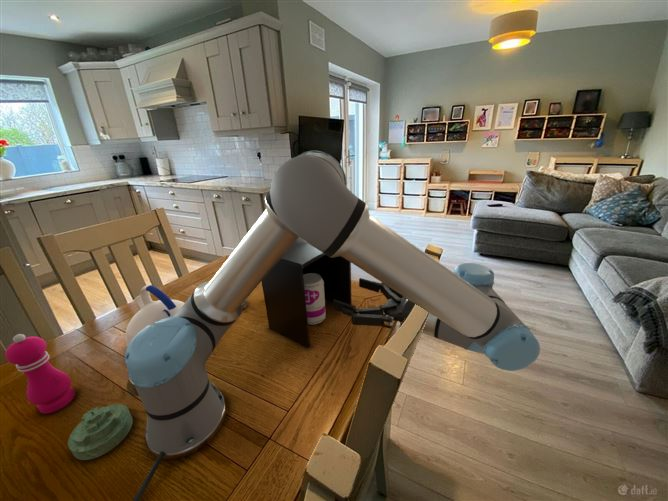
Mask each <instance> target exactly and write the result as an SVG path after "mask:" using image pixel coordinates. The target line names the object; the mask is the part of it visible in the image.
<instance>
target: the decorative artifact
mask: <svg viewBox="0 0 668 501" xmlns="http://www.w3.org/2000/svg"><path fill="white" fill-rule="evenodd" d="M133 422H134V420H133V416H132V414H131V412H130V410H129V408H128V406H126V405H124V404H122V403H117V404H115V403H114V404H110V405H106V406H103V407H100V406H99V405H97V406H96V407H94V408H92V409H90V410H89V411H87V412H85V413H84V414H83V415H82V418H81V421H80V422H79V423H78V424H77V425H76V426H75V427H74V428H73V430H72V431H71V433H70V435H69V437H68V439H67V446H68V449H69V450H70V452H71V453H72V455H73V456H74V458H76V459H77V460H80V461H90V460H94V459H97V458H99V457H102V456H103V455H105V454H107V453H109V452H110V451H112V450H113V449H115V448H116V447H117V446H118V445H119V444H120V443H121V442H122V441H123V440H124V439H125V438H126V437H127V435H128V434H129V432H130V431H131V429H132V426H133Z"/></svg>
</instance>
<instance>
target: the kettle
mask: <svg viewBox="0 0 668 501" xmlns="http://www.w3.org/2000/svg"><path fill="white" fill-rule="evenodd" d="M139 292H140V294H139V295H137V296H136V297H135V298H134V300H133V301H134V302H135V303H136V304H137V306H138V307H139V308H140V309H139V310H138V311H136V313H135V314H134V315H133V316H132V317H131V319H130V321H129V323H128V324H127V326H126V328H125V329H126V330H125V335H124V336H125V337H124V339H125V344H126V348H127V347H128V345H129V343H130V342H131V340H132V339H133V338H134V337H135V336H136V335H137V334H138V333H139V332H140V331H141V330H143V329H144V328H145V327H147V326H148V325H154V324H155V322H156V321H159V320H161V319H165V318H169V317H173V316H174V315H175V314H176V312H177V311H178V310H179V309H180V308H181V307H182V306H183V305H184V304H185V302H184V301H181V300H178V299H173V298H170V297H169V296H168V295H167V294H166V293H165V292H164V291H162V290H161V289H160V288H158V287H156V286H154V285H153V284H146V285H144V286H143V287H142V288H141V289H140V291H139ZM151 295H153V296H154V297H156V298H157V299H158V300H153V299H152V297H151Z"/></svg>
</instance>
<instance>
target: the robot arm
mask: <svg viewBox="0 0 668 501" xmlns="http://www.w3.org/2000/svg"><path fill="white" fill-rule="evenodd" d="M346 177H347V176H346V173H345V170H344V168H343V167H342V165H341V164H340V163H339V161H338V160H337V159H336V158H335V157H333V156H332V155H331V154H329V153H326V152H324V151H321V150H308V151H304V152H302V153H300V154H299V155H297V156H295V157H292V158H289V159H288V160H287V161H285V162H284V163H283V164H281V165H280V166H279V168H278V169H277V170H276V171H275V173H274V174H273V177H272V179H271V184H270V189H269V190H268V192H267V193H266V195H265V197H264V202H265V203H264V204H265V206H266V208H265V209H264V211H263V212H262V214H260V216H259V218H258V219H257V220H256V221H255V223H253V225H252V226H251V228H250V229H249V231H248V232H247V233H246V234H245V236H244V237H243V238H242V240H240V242H239V244H238V245H237V246H236V247H235V248H234V250H233V251H232V252H231V254H230V255H229V256H228V257H227V258H226V260H225V262H224V263H223V264H222V265H221V266H220V268H219V270H218V271H217V272H216V273H215V275H214V276H212V278H211V280H209V281H204V282H202V283H199V284H198V285H197V287H195V289H194V290H193V292H192V293H191V295H190V296H189V297H188V298H187V300H185V302H184V303H185V304H184V305H183V306H182V307H181V308H180V309H179V310H178V311H177V312H176V314H175V315H174V316H173V317H169V318H165V319H161V320H159V321H156V322H155V324H154V325H148V326H147V327H145V328H144V329H143V330H141V331H140V332H139V333H138V334H137V335H136V336H135V337H134V338H133V339H132V340H131V342H130V343H129V345H128V347H127V346H126V350H125V353H124V362H125V365H126V368H127V375H128V378H129V379H130V382H131V383H132V384H133V386H134V388H135V390H136V393H137V395H138V396H139V399H140V401H141V403H142V406H143V408H144V410H145V412H146V427H145V443H146V445H147V447H148V449H149V451H150V452H151V454H152V456H154V457H156V459H155V461H154V463H153V465H152V467H151V468H150V470H149V472H148V474H147V475H146V476H145V478H144V481H143V482H142V484H141V486H140V487H139V490H138V491H137V493H136V495H135V497H134V498H133V500H132V501H140V500H141V498H142V496H143V495H144V493H145V491H146V489H147V487H148V485H149V484H150V482H151V480H152V479H153V477H154V475H155V474H156V471H157V469H158V468H159V466H160V464H161V462H162V460H167V461H169V460H170V461H171V460H178V459H182V458H185V457H187V456H190V455H192V454H194V453H195V452H197V451H199V450H200V449H202V448H203V447H204V446H206V445H207V444H208V443H209V442H210V441H212V440H213V438H214V437H215V436H216V435H217V433H218V432H219V430H221V427H222V426H223V423H224V422H225V419H226V415H227V405H226V401H225V396H224V395H223V393H222V392H221V391H220V390H219V388H218V387H217V386H216V385H215V384H214V383H213V382H212V381H211V380H210V379H209V375H208V372H207V370H206V364H207V362H208V360H209V359H210V357H211V356H212V354H213V352H214V351H215V349H216V347H217V346H218V345H219V342H220V341H221V339H222V338H223V337H224V335H225V334H226V333H227V331H228V330H229V329H230V328H231V327H232V326H233V324H234V323H236V321H237V320H238V319H239V318H240V316H241V315H242V312H243V309H244V308H243V306H242V303H243V302H244V301H245V299H246V298H247V299H248V297H249V296H250V295H251V294H252V293H253V292H254V291H255V289H256V288H257V287H258V286H259V285H260V283H262V280H263V279H264V277H265V276H266V275H267V274H268V273H269V272H270V271H271V269H272V268H273V267H274V266H275V265H276V264H277V262H278V261H279V260H280V259H281V258H282V257H283V256H284V254H285V253H286V252H287V251H288V250H289V249H290V247H291V246H292V245H293V244H294V243H295V242H296V241H297V239H298V238H299V237H300V238H302V239H303V240H304V241H306V242H307V243H309V244H310V245H312V246H313V247H315V248H316V249H318V250H319V251H321V252H323V253H324V254H326V255H327V256H329V257H331V258H333V257H338V256H341V257H343V258H345V259H346V260H348V261H349V262H351V264H353V265H354V266H356V267H357V268H359V269H360V270H362V271H364V272H365V273H367V274H368V275H370V276H371V277H373V278H374V279H376V280H378V281H379V282H377V281H374V280H369V279H365V278H362V277H360V278H358V288H362V289H365V290H368V291H372V292H375V293H380V294H382V295H383V296H384V297H385V298H386V300H387V301H386V302H384V304H380V305H379V306H374V307H363V308H362V307H361V308H357V307H356V306H355V305H353V304H352V305H350V304H347V303H344V302H341V301H338V300H333V302H332V305H333V306H332V307H333V310H335V311H337V312H339V313H342V314H343V315H345V316H346V317H350V318H351V320H350V321H351V325H354V326H369V327H383V328H387V329H392V328H393V323H394V322H398V323H400V324H401V322H402V321H403V320H404V318H406V317H407V316H408V314H409V313H410V311H411V309H412V308H413V306H414V304H416V305H418V306H420V307H421V308H423V309H424V310H426V311H427V312H429V313H430V314H429V316H428V319H427V321H426V324H425V327H424V329H423V332H422V333H421V334H424V335H427V336H428V337H429V336H430V337H433V338H435V339H438V340H440V341H443V342H446V343H449V344H450V345H451V344H452V345H454V346H456V347H459V348H461V349H463V350H467V351H469V352H470V351H471V352H474V353H477V354H482V355H485V356H486V357H487V358H488V359H489V361H490V362H491V364H493V365H494V366H495V367H496V368H498V369H500V370H503V371H507V372H514V371H520V370H523V369H525V368H528V367H529V366H530V365H531V364H532V363H535V362H536V361H537V359H538V357H539V356H540V353H541V345H540V342H539V340H538V339H537V338H536V336H535V335H534V334H533V332H532V330H531V328H530V327H529V326H528V325H526V324H525V323H524V322H523V321H522V320H521V319H520V318H519V317H518V316H517V314H516V313H514V311H513V310H512V309H511V308H510V307H509V306H508V304H507V303H506V301H504V299H503V298H501V296H500V295H499V294H498V293H497V292H496V291H495V290H494V288H493V287H494V285H495V272H494V271H493V270H492V269H491V268H490V267H488V266H486V265H484V264H481V263H476V262H464V263H463V262H462V263H460V264H458V265H456V267H454V270H453V271H452V270H451V269H449V268H448V267H446V266H445V265H443V264H442V263H440V262H439V261H438V260H436V259H435V258H434V257H432V256H431V255H429V254H428V253H426V252H425V251H423V250H422V249H420V248H419V247H417V246H416V245H414V244H413V243H411V241H409V240H407V238H404V237H403V236H402V235H401V234H398V233H397V232H396V231H394V230H393V229H391V228H390V227H389V226H387V225H386V224H384V223H383V222H382V221H380V220H378V218H376V217H374V216H373V215H371V214H370V213H369V212H370V211H369V206H368V204H367V202H365V201H363V200H362V199H361V198H360V197H358V196H357V195H356V194H355V193H353V192H352V191H351V190H350V189H349V188H348V187H347V178H346Z"/></svg>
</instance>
